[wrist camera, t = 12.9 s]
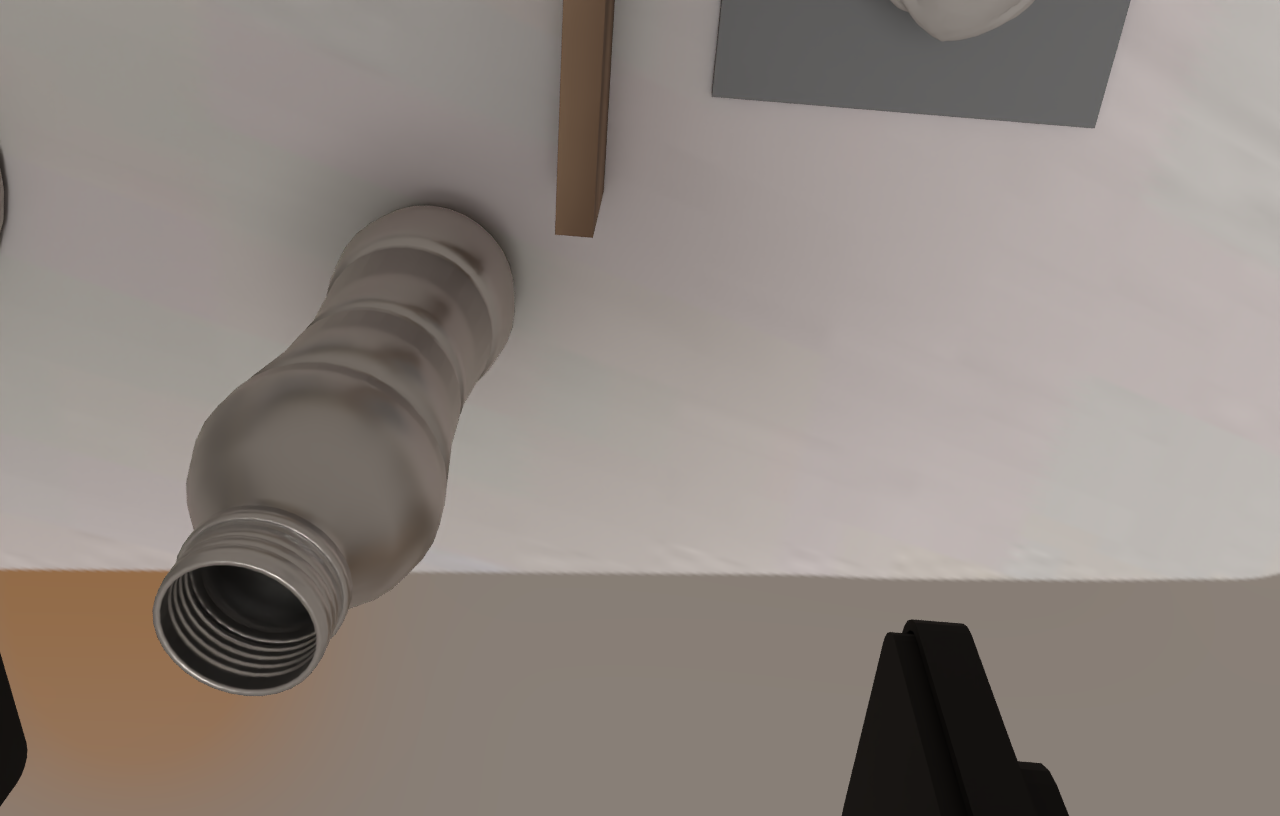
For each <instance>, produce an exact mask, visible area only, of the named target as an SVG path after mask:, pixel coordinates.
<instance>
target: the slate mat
mask: <svg viewBox="0 0 1280 816" xmlns="http://www.w3.org/2000/svg"><path fill="white" fill-rule="evenodd" d="M1130 1H1131V0H1035V1H1034V2H1033V3H1032V4H1031V5H1030V6H1029V7H1028V8H1027V9H1026V10H1025V11H1023V12H1022V13H1021V14H1020V15H1018V16H1017V17H1015V18H1014V19H1012V20H1010V21H1008V22H1006V23H1004V24H1003V25H1001V26H999V27H997V28H995V29H993V30H990V31H988V32H985V33H983V34H981V35H978V36H975V37H971V38H967V39H962V40H956V41H940V40H938V39H936V38H934V37H932V36H931V35H930V34H929V33H927V32H926V31H925V30H924V29H923V28H921V27H920V26H919V25H918V24H917V23H916V22H915V20H914V19H913V18H912V17H911V15H910V14H909V12H907V11H903V10H901V9H899V8H897V7H896V6H895V5H894V4H893V3H892V2H891V1H890V0H721V10H720V20H719V29H718V39H717V49H716V58H715V68H714V77H713V87H712V97H721V98H733V99H745V100H758V101H770V102H782V103H794V104H806V105H818V106H830V107H842V108H854V109H866V110H878V111H890V112H902V113H915V114H927V115H939V116H951V117H963V118H975V119H987V120H999V121H1011V122H1023V123H1035V124H1047V125H1059V126H1071V127H1084V128H1095V125H1096V121H1097V118H1098V114H1099V111H1100V107H1101V104H1102V100H1103V97H1104V93H1105V89H1106V86H1107V82H1108V79H1109V75H1110V72H1111V68H1112V65H1113V61H1114V57H1115V54H1116V50H1117V47H1118V43H1119V40H1120V36H1121V33H1122V29H1123V26H1124V22H1125V18H1126V15H1127V11H1128V8H1129V4H1130Z"/></svg>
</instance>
